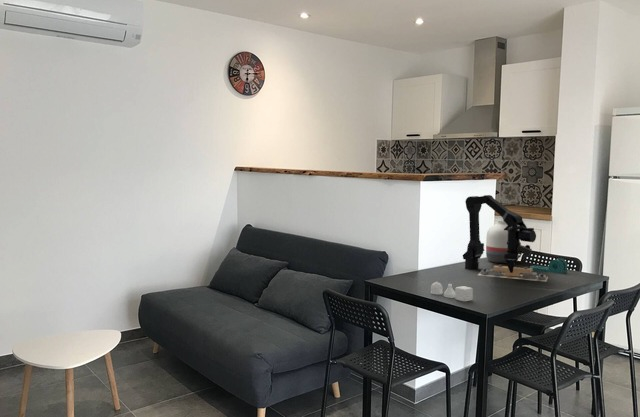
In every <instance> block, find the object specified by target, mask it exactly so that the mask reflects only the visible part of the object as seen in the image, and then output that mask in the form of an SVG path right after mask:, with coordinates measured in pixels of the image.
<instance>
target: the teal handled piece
mask: <svg viewBox="0 0 640 417" xmlns="http://www.w3.org/2000/svg"><path fill="white" fill-rule="evenodd" d="M529 268H532V269H533V270H532V272H534V271H535V272H545V273H547V272H548V273H553V274H561V275H562V274H568V262H567V261H566V260H565V258H557V259H552V260H550V261H549V262H548V266H541V265H530V266H529Z"/></svg>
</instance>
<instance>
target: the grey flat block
mask: <svg viewBox="0 0 640 417" xmlns="http://www.w3.org/2000/svg"><path fill="white" fill-rule="evenodd" d="M522 275H523V278H527V279H536V278H537V276H538V280H545V278H546V277H547V276H546V274H545V273H539V274H538V272H536V271H535V272H534V271H532V274H526V273H522Z"/></svg>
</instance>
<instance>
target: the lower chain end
mask: <svg viewBox="0 0 640 417" xmlns="http://www.w3.org/2000/svg"><path fill="white" fill-rule="evenodd" d="M480 272H481V274H483V275H487V274H488V273H489V275H494V276H502V274H503V273H504V272H502V271H493V268H490V269H486V268H483V269H481V270H480Z"/></svg>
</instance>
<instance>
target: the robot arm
mask: <svg viewBox="0 0 640 417" xmlns="http://www.w3.org/2000/svg"><path fill="white" fill-rule="evenodd" d="M464 202H465V207H466V210H467V211H468V214H469V216H468V217H469V241H468V243H467V249H466V251H465V252H464V253H463V254H462V258H463V259H462V260H465V261H464V264H465V265H464V269H466V270H470V271H473V270H474V271H479V270H480V262H479V260H480V259H481V257H482V255H483V254H484V252H485V244H484V243H483V242H482V241H481V240H480V238H481V237H480V212H481V209H482V205H483V204H486V205H487V206H488V207H489V208H491V209H492V210H493V211H494V212H495V213H497V214H498V215H499V216H501V218H502V221H504V222H505V223H506V224H507V225H508V226H507V227H506V228H504V230H507V231H508V242H507V253H506V254H505V255H504V259H505V261H506V263H505V264H506V265H507V267H508V268H509V271H510V273H513V269H514V267H517V263H518V260H519V259H520V258H521V256H522V255H525V256H526V257H530V255H531V253H532V251H533V249H532V248H531V245H529V244H526V245H522V243H521V242H530V243H535V241H536V238H537V234H536V231H535V229H534V227H527V225H526V224H525V222H524V220H523V217H522V216H521V215H520V214H518V213H516V212H514V211H511V210H509V209H508V208H507V207H505V206H504V205H503V204H502V203H501V202H499V201H498V200H497V199H495V198H494V197H493V195H491V194H485V195H480V196H478V195H472V196H468V197H466V199H465V201H464Z"/></svg>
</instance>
